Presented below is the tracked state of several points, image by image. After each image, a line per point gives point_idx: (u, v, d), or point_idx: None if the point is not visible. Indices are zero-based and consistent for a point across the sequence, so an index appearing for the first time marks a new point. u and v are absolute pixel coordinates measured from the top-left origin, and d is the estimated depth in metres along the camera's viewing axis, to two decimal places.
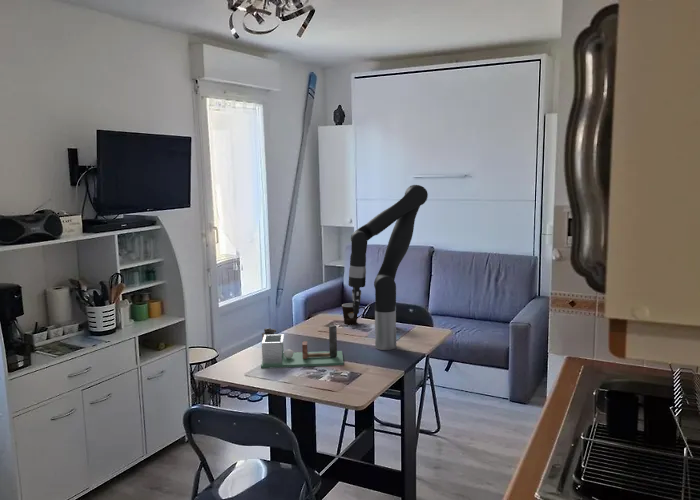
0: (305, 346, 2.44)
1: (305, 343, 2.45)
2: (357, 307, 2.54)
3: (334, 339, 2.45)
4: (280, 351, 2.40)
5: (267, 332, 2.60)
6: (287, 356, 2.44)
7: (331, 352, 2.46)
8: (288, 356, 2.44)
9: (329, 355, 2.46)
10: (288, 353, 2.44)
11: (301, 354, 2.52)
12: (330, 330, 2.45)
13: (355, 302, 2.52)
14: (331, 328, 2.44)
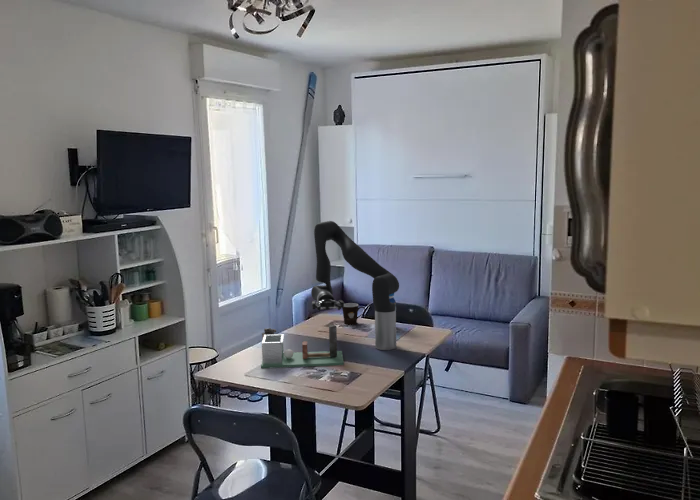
0: (305, 346, 2.44)
1: (305, 343, 2.45)
2: (316, 306, 2.58)
3: (334, 339, 2.45)
4: (280, 351, 2.40)
5: (267, 332, 2.60)
6: (287, 356, 2.44)
7: (331, 352, 2.46)
8: (288, 356, 2.44)
9: (329, 355, 2.46)
10: (288, 353, 2.44)
11: (301, 354, 2.52)
12: (330, 330, 2.45)
13: (312, 307, 2.60)
14: (331, 328, 2.44)
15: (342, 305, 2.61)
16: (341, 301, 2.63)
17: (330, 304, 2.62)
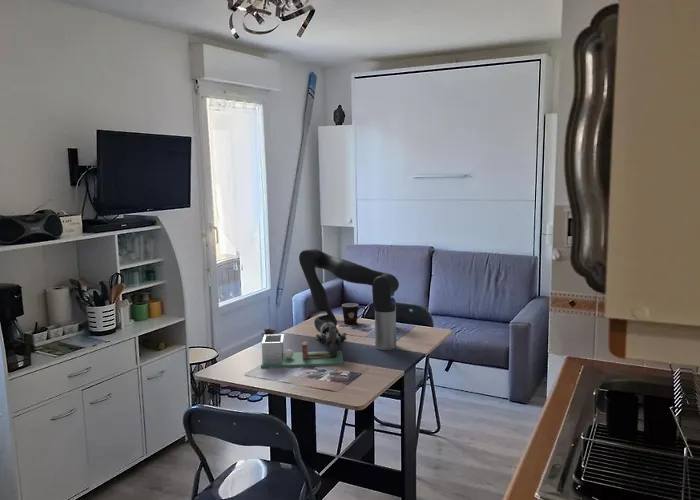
0: (305, 346, 2.44)
1: (305, 343, 2.45)
2: (326, 340, 2.46)
3: (334, 339, 2.45)
4: (280, 351, 2.40)
5: (267, 332, 2.60)
6: (287, 356, 2.44)
7: (331, 352, 2.46)
8: (288, 356, 2.44)
9: (329, 355, 2.46)
10: (288, 353, 2.44)
11: (301, 354, 2.52)
12: (330, 330, 2.45)
13: None
14: (331, 328, 2.44)
15: (341, 339, 2.49)
16: (342, 335, 2.51)
17: None
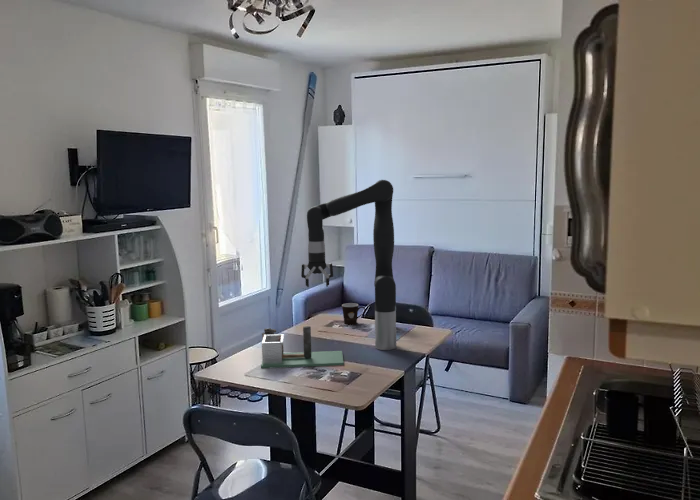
0: None
1: None
2: None
3: (308, 340, 2.44)
4: (280, 351, 2.40)
5: (267, 332, 2.60)
6: None
7: (305, 353, 2.45)
8: None
9: (303, 356, 2.46)
10: None
11: None
12: (304, 331, 2.44)
13: None
14: (305, 329, 2.44)
15: (331, 276, 2.61)
16: (331, 271, 2.59)
17: None
